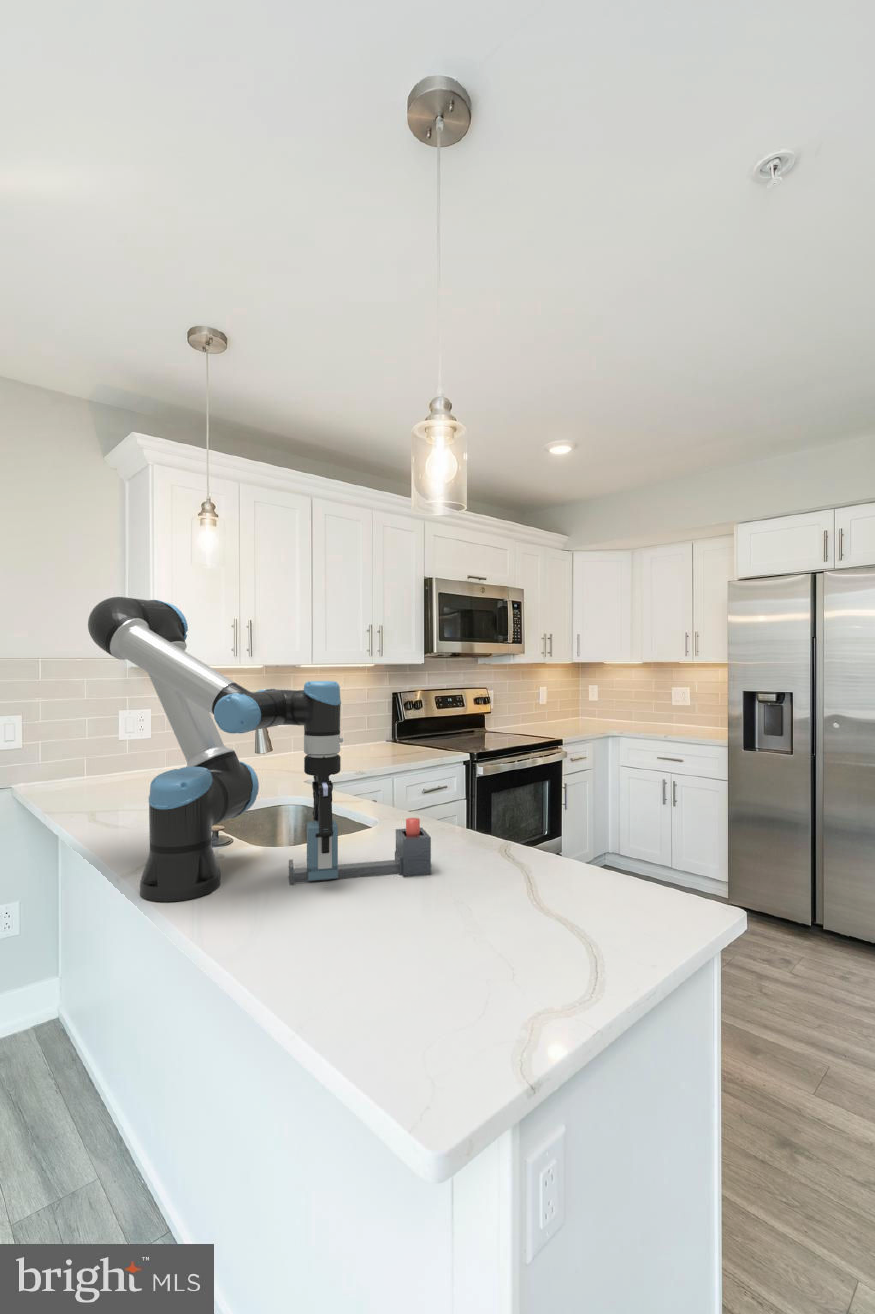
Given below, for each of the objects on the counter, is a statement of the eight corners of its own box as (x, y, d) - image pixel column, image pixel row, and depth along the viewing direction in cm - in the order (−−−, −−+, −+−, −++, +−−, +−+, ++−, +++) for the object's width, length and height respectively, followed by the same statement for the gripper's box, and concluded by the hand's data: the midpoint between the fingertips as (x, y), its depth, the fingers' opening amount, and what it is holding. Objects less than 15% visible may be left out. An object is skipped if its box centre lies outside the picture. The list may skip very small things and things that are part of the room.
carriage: (308, 880, 132) (308, 828, 132) (306, 872, 136) (306, 822, 136) (337, 878, 133) (337, 826, 133) (335, 870, 138) (335, 820, 138)
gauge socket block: (403, 877, 135) (403, 839, 135) (395, 865, 143) (395, 829, 143) (430, 874, 137) (430, 837, 137) (421, 862, 145) (421, 827, 145)
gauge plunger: (407, 849, 138) (407, 821, 138) (404, 845, 141) (404, 818, 141) (421, 848, 139) (421, 820, 139) (417, 844, 142) (417, 817, 142)
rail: (289, 885, 131) (289, 867, 131) (288, 876, 135) (288, 859, 135) (403, 874, 137) (403, 857, 137) (398, 867, 142) (398, 850, 142)
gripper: (347, 762, 125) (347, 876, 125) (334, 746, 147) (334, 842, 147) (307, 764, 123) (307, 879, 123) (301, 747, 145) (301, 845, 145)
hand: (322, 859), depth 135 cm, fingers open, 10 cm apart
